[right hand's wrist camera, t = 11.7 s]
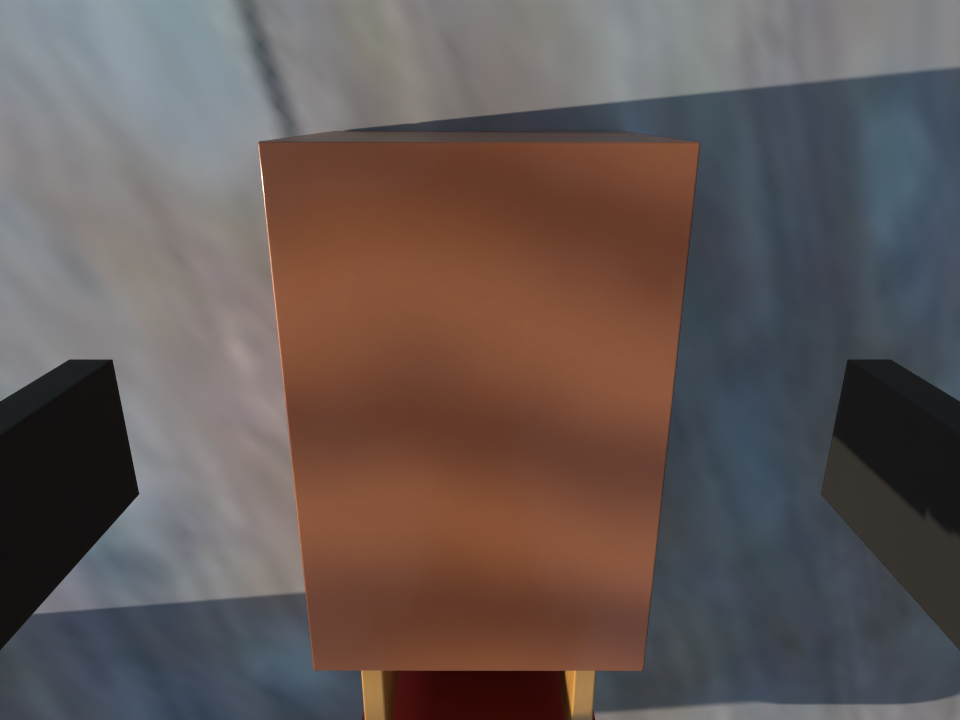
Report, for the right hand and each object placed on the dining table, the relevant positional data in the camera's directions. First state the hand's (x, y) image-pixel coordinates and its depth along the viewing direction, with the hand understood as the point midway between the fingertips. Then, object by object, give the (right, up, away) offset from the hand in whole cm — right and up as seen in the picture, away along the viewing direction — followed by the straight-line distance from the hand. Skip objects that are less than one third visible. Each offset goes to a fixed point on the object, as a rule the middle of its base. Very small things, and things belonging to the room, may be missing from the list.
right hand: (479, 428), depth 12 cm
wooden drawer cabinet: (0, +2, +17) cm, 17 cm away
